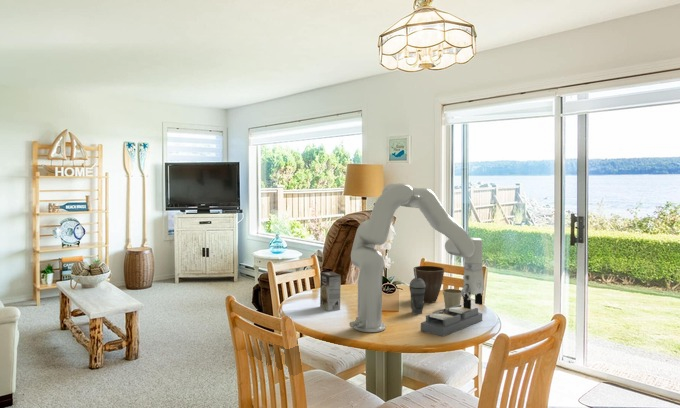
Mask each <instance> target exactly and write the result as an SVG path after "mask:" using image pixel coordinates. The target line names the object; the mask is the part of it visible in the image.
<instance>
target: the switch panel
mask: <svg viewBox="0 0 680 408" xmlns="http://www.w3.org/2000/svg"><path fill="white" fill-rule="evenodd" d="M455 307H462V304H460V305H457V306H454V307H451V308H455ZM444 309H445V308H444ZM471 309H472V310H469V311H466V312H464V313H462V314H460V313H456V312H451V311H449V308H448V309H445V310H440V311H437V312H436V311H435V312H434V313H432V314H447V315H451V316H453V317H450V318H447V319H444V320H441V319H437V318H433V317H430V314H428V315H425V321H422V322H421V323H420V331H421V332H424V333H429V334H433V335H436V336H440V337H445V336H447V335H450V334H453V333H455V332H457V331H460V330H462V329H464V328H467V327H470V326H472V325H474V324H477V323H479V322H482V321H483V313H482V312H479V308H478V307H475V308H471ZM444 312H445V313H444Z"/></svg>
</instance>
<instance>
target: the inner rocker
mask: <svg viewBox="0 0 680 408" xmlns="http://www.w3.org/2000/svg"><path fill="white" fill-rule="evenodd" d="M429 315H430V317H433V318H437V319H441V320H444V319H447V318H450V317H453V316H451V315H447V314H445V313H444V314H433V313H430V314H429Z"/></svg>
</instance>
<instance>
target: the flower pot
mask: <svg viewBox="0 0 680 408" xmlns="http://www.w3.org/2000/svg"><path fill="white" fill-rule="evenodd" d="M461 290H462V289H457V288H444V289H442V290H441V292H442V295H443V299H444V309H448V308H451V307H454V306H457V305H461V301H462V297H463V296H462V292H461Z"/></svg>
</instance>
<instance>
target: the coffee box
mask: <svg viewBox="0 0 680 408" xmlns="http://www.w3.org/2000/svg"><path fill="white" fill-rule="evenodd" d="M319 273H320V275H319V277H320V280H319V281H320V287H319V288H320V290H319V291H320V292H319V293H320V297H319V301H320V302H319V307H320V308H322V309H324V310H326V311H327V312H333V311H340V310H341V287H342V286H341V282H342V281H341V279H342V276H341V274H339V273H336V272H333V271H322V272H319Z"/></svg>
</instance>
